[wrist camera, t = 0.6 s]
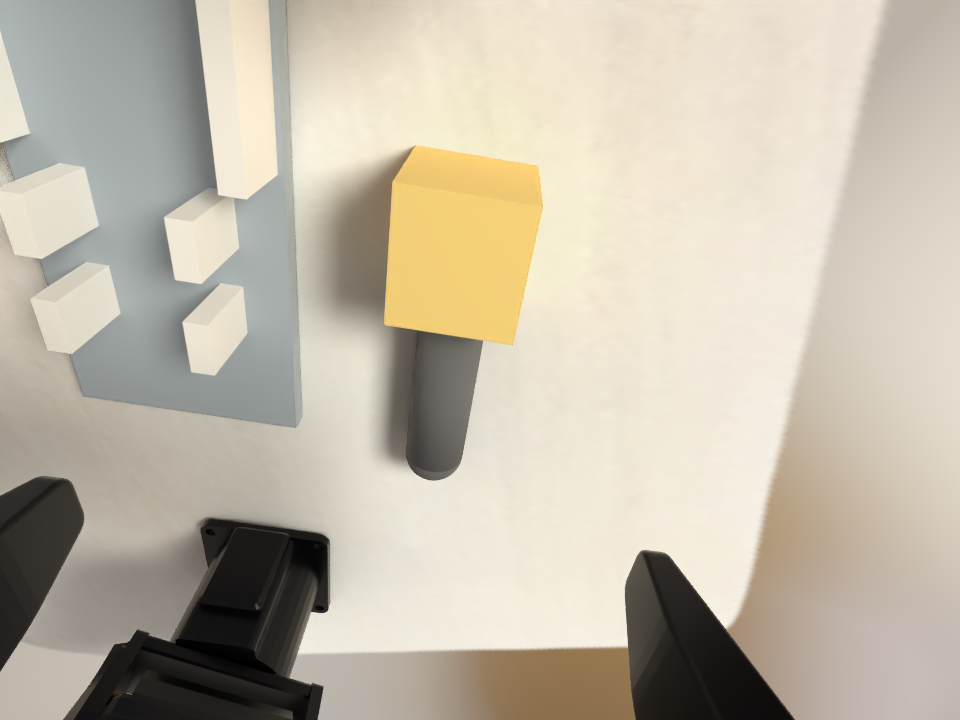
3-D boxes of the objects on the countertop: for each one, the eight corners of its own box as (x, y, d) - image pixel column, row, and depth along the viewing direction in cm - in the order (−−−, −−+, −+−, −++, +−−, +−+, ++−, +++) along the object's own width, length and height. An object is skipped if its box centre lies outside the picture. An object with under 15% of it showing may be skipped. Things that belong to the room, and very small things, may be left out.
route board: (302, 415, 25) (272, 475, 22) (95, 385, 24) (36, 441, 21) (281, -110, 15) (220, -135, 12) (-74, -176, 14) (-230, -218, 11)
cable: (478, 459, 25) (472, 529, 22) (391, 445, 25) (372, 515, 22) (538, 166, 18) (542, 206, 15) (415, 145, 18) (392, 181, 15)
